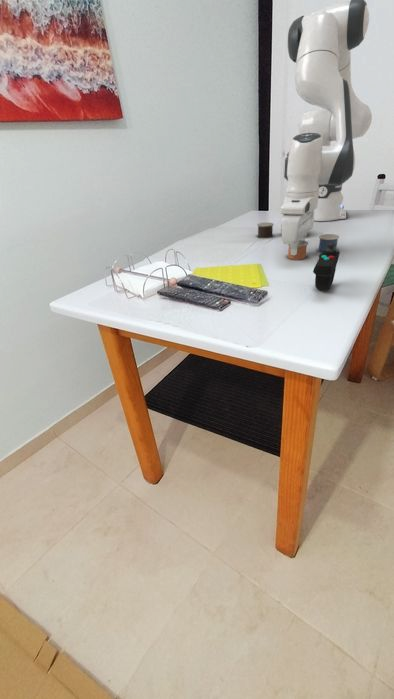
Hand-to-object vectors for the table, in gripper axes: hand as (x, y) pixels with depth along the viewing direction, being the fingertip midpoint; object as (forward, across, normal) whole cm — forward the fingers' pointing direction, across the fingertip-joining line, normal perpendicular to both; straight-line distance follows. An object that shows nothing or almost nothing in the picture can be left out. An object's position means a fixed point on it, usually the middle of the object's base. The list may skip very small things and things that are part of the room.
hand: (297, 251), depth 101 cm
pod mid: (+2, 0, 0) cm, 2 cm away
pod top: (+2, -9, +7) cm, 12 cm away
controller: (+2, +23, +13) cm, 26 cm away
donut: (+2, -25, -8) cm, 26 cm away
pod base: (+2, -21, -18) cm, 28 cm away
